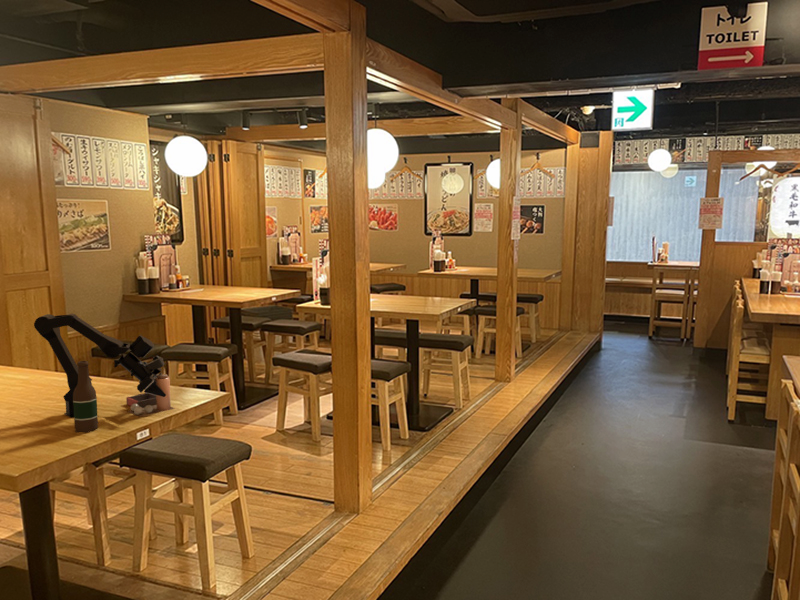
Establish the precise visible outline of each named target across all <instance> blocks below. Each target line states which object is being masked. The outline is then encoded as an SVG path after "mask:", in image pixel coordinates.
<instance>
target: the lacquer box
mask: <svg viewBox="0 0 800 600" xmlns="http://www.w3.org/2000/svg"><path fill="white" fill-rule="evenodd" d="M125 399H126V405H127V406H129V407H131V406H132V404H138V405H139V407H142V408H144V407H146V406H147V405H151V406H153V405H157V402H156V395H154V394H151V393H145V392H144V393H140V394H136V395H132V396H127V397H125Z"/></svg>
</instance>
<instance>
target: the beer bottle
mask: <svg viewBox="0 0 800 600" xmlns="http://www.w3.org/2000/svg"><path fill="white" fill-rule="evenodd" d="M76 364H77V366H78V384H77V386H76V388H75V390H74V393H73V407H74V417H73V420H74V421H73V422H74V431H75V433H79V432H86V433H91V432H90V431H92V432H95V431H97V430H98V428H99V420H98V399H97V392H96V389H95V387H94V386H93V385H91V383H92V382H91V383H90V379H89V377H90V372H89V365H90V363H89V361H87V360H80V361H77V363H76ZM96 429H97V430H96Z"/></svg>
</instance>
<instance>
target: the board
mask: <svg viewBox="0 0 800 600" xmlns="http://www.w3.org/2000/svg"><path fill="white" fill-rule="evenodd" d="M152 407H153V411H152V412H151V413H146V412H145V410H144V409H145V407H144V408H142V409H143V412H142V413H141V414H139V415H137V414H135V413H134V411H132V410H131V409H130V410H127V411H126V412H127V413H130V414H131V415H134V416H137V417H139V418H142V417H145V416H149V415H154V414H157V413H158V414H159V413H162V412H166V411H170V410H174V409H176V408H175V407H172V406H171V408H170V409H169V410H163V411H160V410H157V405H153V406H152Z"/></svg>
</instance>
